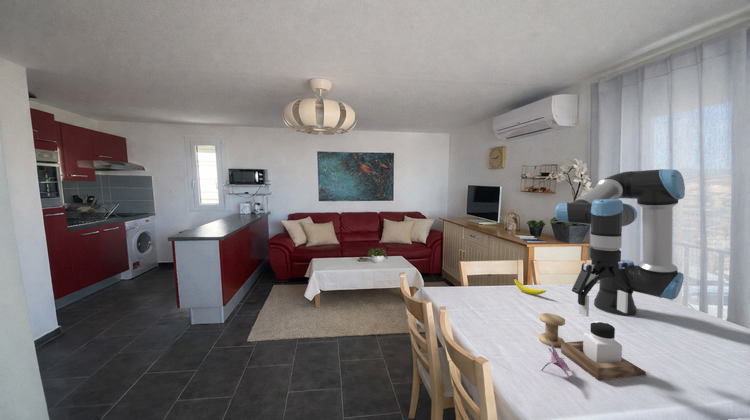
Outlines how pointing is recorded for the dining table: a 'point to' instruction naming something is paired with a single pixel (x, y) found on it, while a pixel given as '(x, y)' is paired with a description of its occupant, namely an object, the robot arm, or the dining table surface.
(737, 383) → the dining table surface
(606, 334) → the medicine bottle
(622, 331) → the dining table surface
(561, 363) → the lily
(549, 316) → the bobbin
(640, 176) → the robot arm
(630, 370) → the notched board
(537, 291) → the banana
